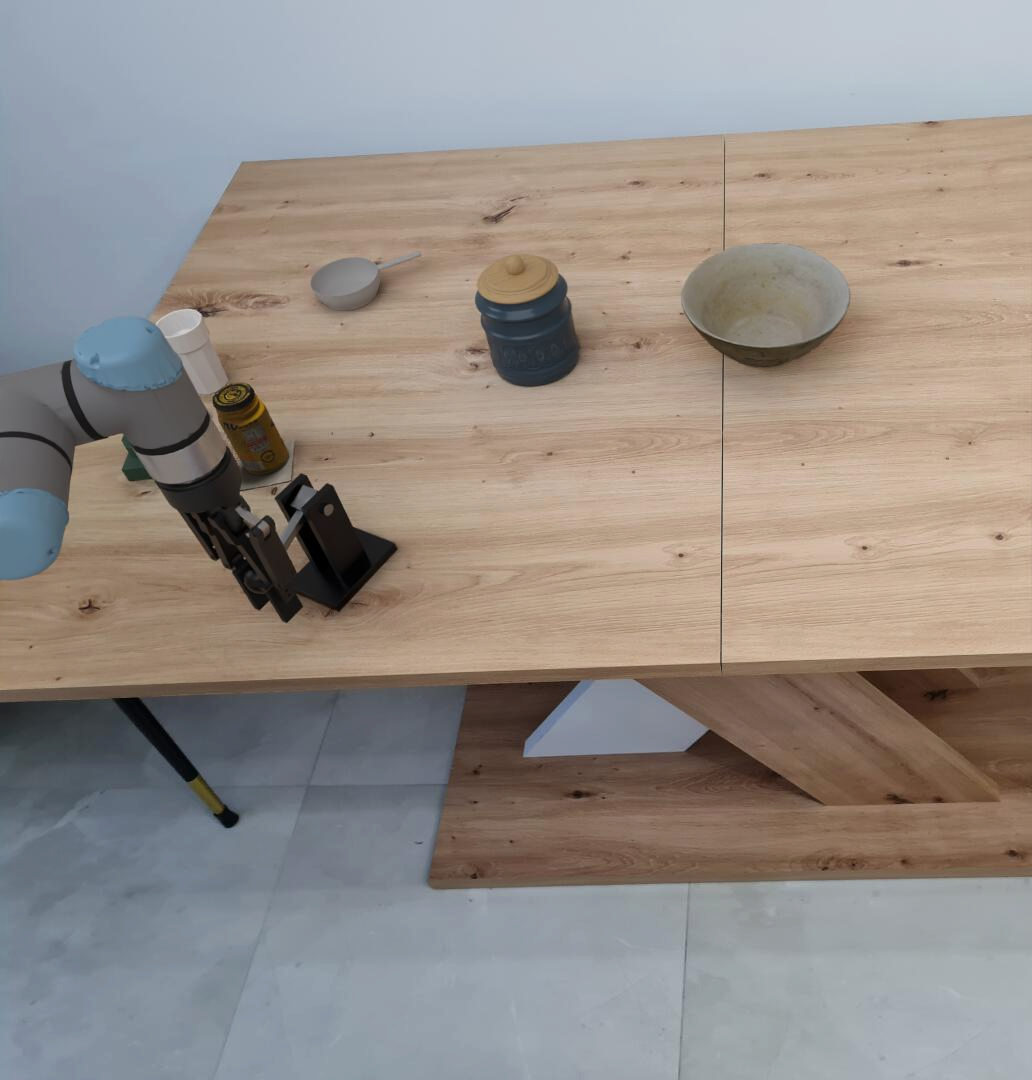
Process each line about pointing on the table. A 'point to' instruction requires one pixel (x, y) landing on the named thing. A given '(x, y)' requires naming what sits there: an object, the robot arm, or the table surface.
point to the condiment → (253, 436)
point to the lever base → (332, 547)
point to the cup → (194, 349)
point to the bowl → (765, 302)
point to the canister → (527, 319)
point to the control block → (133, 464)
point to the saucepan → (351, 281)
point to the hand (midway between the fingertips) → (278, 607)
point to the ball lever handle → (283, 535)
